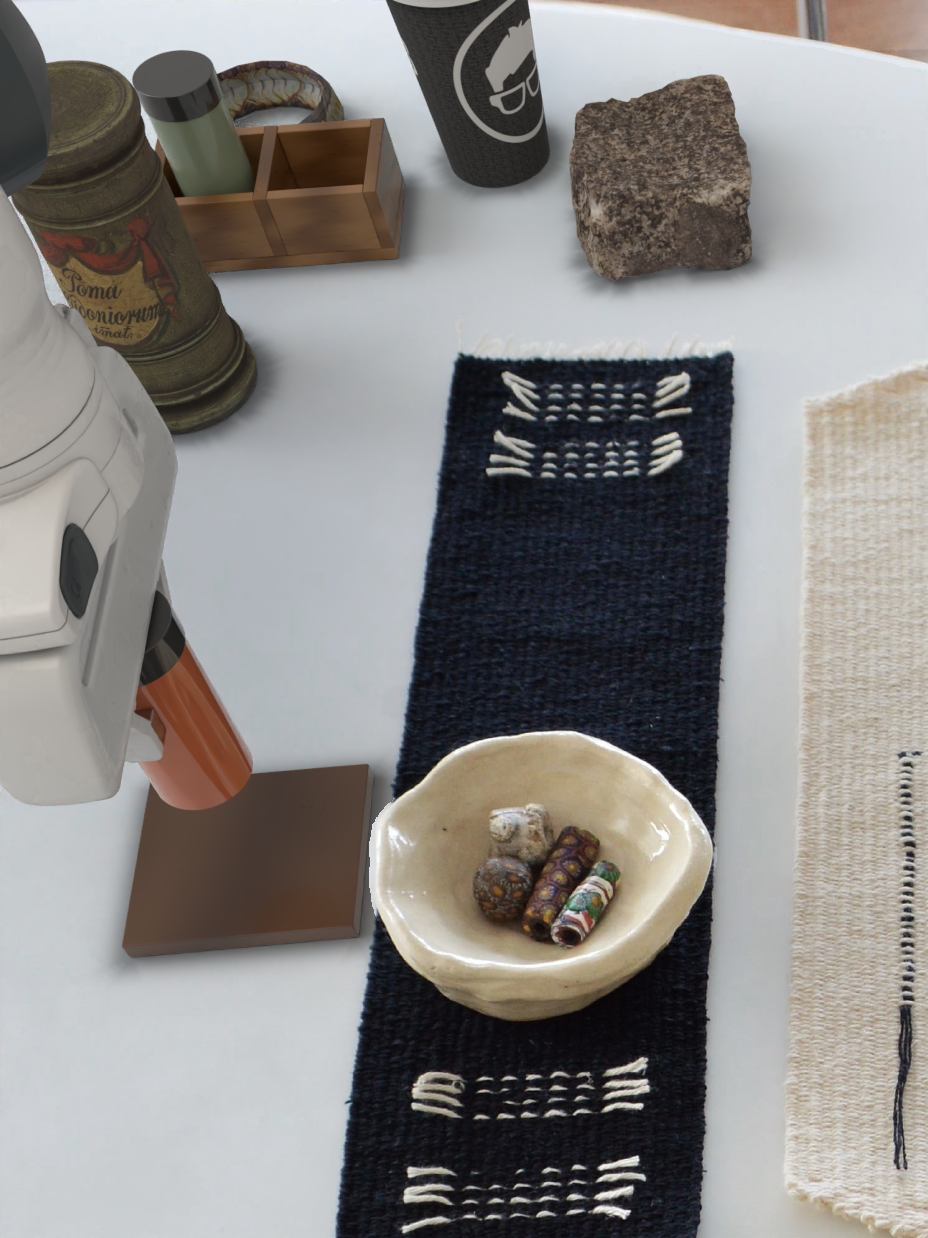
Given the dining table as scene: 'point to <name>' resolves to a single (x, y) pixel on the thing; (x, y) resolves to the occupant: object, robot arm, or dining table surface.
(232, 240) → the spice rack
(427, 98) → the coffee cup
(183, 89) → the jar
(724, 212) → the stone
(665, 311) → the dining table surface
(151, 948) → the board
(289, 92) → the decorative ring
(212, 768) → the spice jar
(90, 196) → the container
